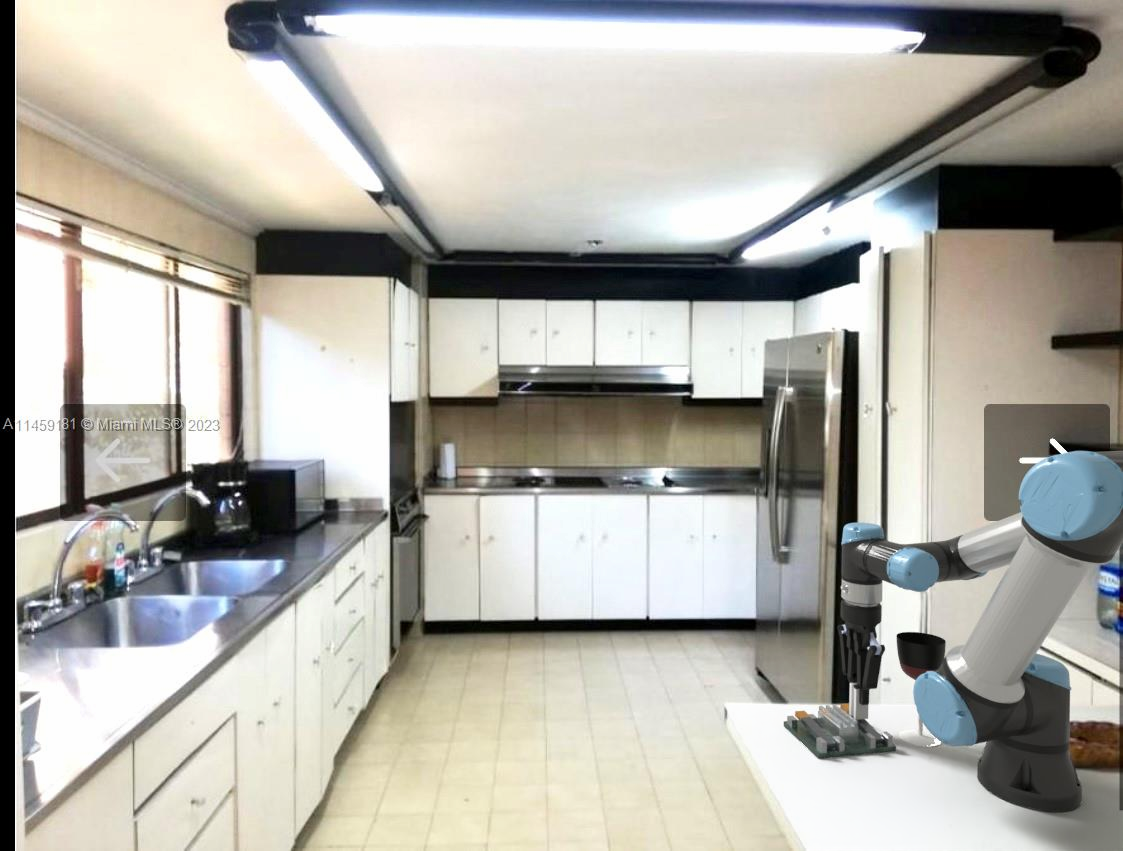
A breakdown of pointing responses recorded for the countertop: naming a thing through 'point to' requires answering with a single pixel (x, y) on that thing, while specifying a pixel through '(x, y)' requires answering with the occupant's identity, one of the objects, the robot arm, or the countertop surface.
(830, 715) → the circuit board
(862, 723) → the lever
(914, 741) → the wineglass
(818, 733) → the lever
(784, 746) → the countertop surface
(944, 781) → the countertop surface
